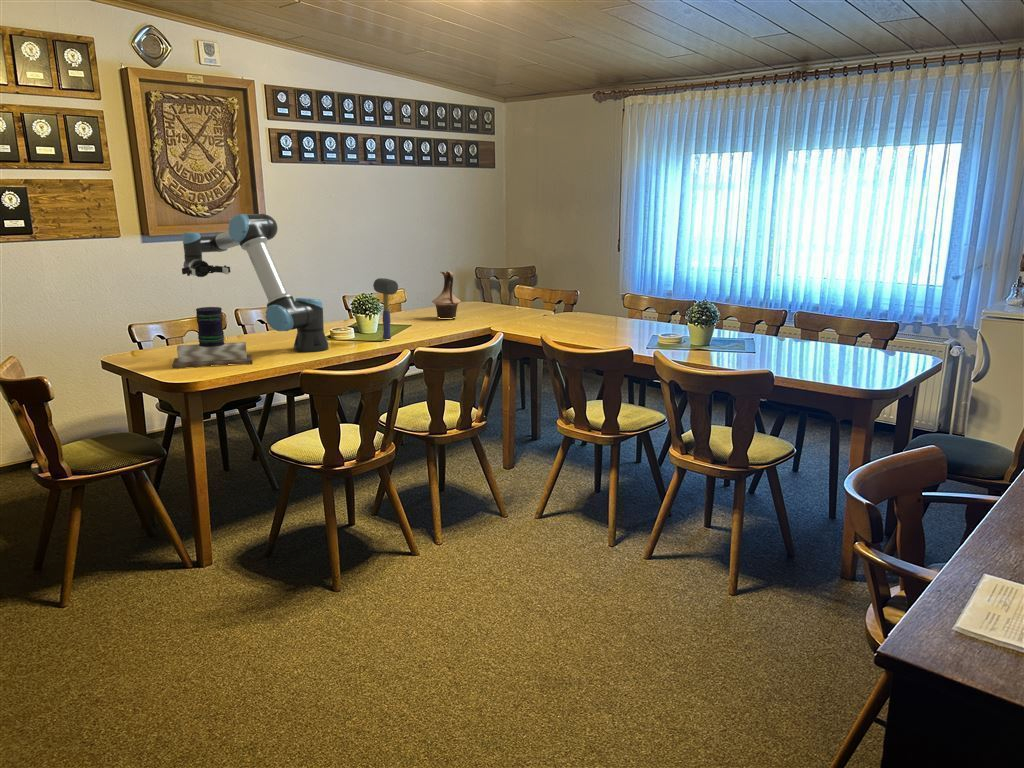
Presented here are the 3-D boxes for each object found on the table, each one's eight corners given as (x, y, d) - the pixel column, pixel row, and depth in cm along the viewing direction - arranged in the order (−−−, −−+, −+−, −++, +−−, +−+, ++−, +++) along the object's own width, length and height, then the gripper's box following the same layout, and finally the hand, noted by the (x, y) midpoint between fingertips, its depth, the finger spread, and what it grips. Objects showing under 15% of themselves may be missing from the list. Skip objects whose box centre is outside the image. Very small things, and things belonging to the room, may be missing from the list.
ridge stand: (251, 357, 312) (250, 340, 310) (252, 364, 299) (251, 346, 297) (174, 361, 301) (173, 343, 299) (172, 368, 289) (170, 350, 287)
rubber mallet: (373, 339, 357) (371, 277, 350) (386, 337, 362) (385, 277, 355) (387, 343, 348) (385, 280, 341) (400, 341, 353) (399, 279, 346)
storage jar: (193, 345, 296) (190, 309, 292) (211, 341, 305) (208, 306, 301) (212, 347, 292) (208, 310, 289) (230, 343, 301) (227, 307, 297)
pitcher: (466, 320, 421) (466, 271, 415) (439, 322, 413) (439, 272, 406) (453, 316, 436) (453, 268, 429) (427, 317, 428) (426, 269, 421)
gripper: (228, 275, 340) (241, 279, 323) (170, 277, 326) (181, 281, 309) (226, 259, 338) (239, 262, 322) (168, 260, 324) (179, 264, 307)
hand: (211, 271), depth 315 cm, fingers open, 13 cm apart
